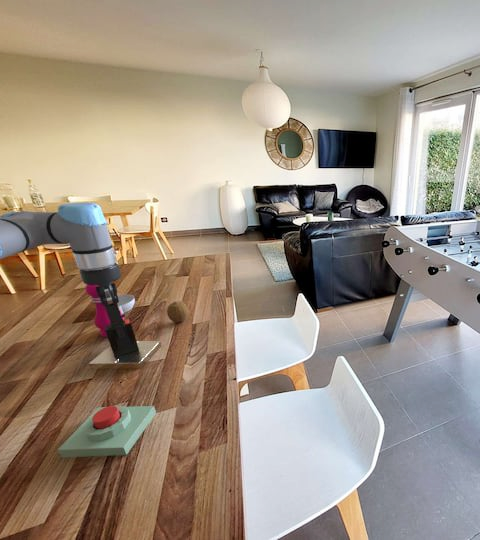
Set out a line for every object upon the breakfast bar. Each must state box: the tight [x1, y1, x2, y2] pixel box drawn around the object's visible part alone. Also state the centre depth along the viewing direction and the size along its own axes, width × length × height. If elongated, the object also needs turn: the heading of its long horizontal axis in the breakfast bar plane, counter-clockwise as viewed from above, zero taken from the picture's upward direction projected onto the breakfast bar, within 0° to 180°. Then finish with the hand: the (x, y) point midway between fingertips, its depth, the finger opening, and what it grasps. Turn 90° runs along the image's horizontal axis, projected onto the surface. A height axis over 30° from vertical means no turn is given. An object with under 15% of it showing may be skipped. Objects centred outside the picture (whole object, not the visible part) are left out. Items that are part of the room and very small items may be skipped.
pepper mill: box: [85, 284, 125, 338], centre depth 90 cm, size 7×7×20 cm
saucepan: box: [117, 294, 136, 314], centre depth 104 cm, size 11×18×4 cm, turn 45°
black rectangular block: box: [105, 318, 139, 357], centre depth 80 cm, size 6×3×9 cm, turn 133°
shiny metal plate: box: [88, 340, 162, 370], centre depth 82 cm, size 13×10×2 cm
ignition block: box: [57, 405, 157, 458], centre depth 60 cm, size 12×10×4 cm
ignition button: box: [92, 405, 120, 429], centre depth 59 cm, size 4×4×2 cm
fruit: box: [166, 300, 189, 323], centre depth 99 cm, size 6×6×8 cm
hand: (123, 342), depth 81 cm, fingers closed on black rectangular block, 3 cm apart
